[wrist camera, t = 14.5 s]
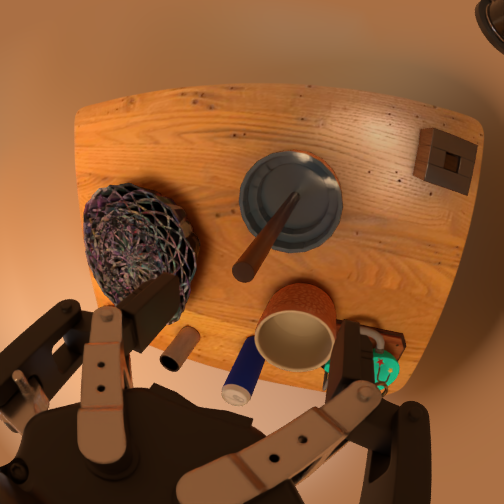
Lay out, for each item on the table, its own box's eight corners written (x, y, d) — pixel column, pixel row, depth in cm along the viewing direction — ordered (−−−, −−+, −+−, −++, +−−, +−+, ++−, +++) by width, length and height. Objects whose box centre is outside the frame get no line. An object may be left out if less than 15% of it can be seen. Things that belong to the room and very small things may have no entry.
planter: (351, 298, 47) (353, 338, 37) (312, 342, 53) (304, 383, 43) (292, 261, 48) (280, 294, 38) (258, 310, 53) (240, 347, 44)
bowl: (256, 143, 42) (245, 144, 36) (349, 159, 39) (351, 163, 34) (246, 228, 48) (234, 241, 42) (330, 247, 45) (329, 262, 40)
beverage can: (242, 346, 58) (216, 398, 45) (250, 330, 56) (224, 383, 42) (264, 356, 58) (243, 410, 44) (273, 341, 55) (253, 397, 42)
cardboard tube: (203, 335, 60) (182, 366, 51) (194, 345, 62) (174, 375, 53) (186, 322, 60) (163, 351, 51) (179, 333, 62) (156, 361, 53)
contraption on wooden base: (327, 305, 49) (320, 364, 36) (416, 324, 45) (432, 383, 32) (308, 360, 55) (295, 418, 41) (387, 375, 51) (391, 433, 38)
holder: (420, 128, 34) (433, 127, 28) (461, 143, 32) (477, 145, 27) (412, 175, 37) (423, 180, 31) (452, 188, 35) (467, 195, 30)
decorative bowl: (225, 186, 48) (200, 193, 39) (210, 322, 57) (189, 349, 48) (113, 171, 53) (78, 176, 44) (114, 288, 62) (87, 306, 53)
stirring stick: (290, 190, 42) (233, 259, 19) (301, 192, 42) (255, 264, 19) (289, 200, 43) (230, 279, 20) (299, 202, 43) (252, 285, 20)
